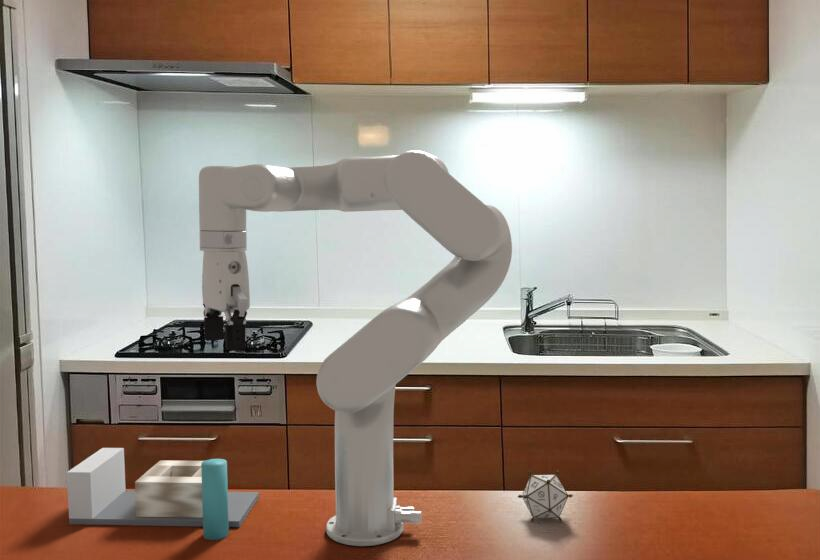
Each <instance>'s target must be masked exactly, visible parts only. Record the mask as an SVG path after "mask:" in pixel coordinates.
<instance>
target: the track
mask: <svg viewBox="0 0 820 560" xmlns="http://www.w3.org/2000/svg"><path fill="white" fill-rule="evenodd" d="M125 471H126V468H125V448H124V447H102V448H100V449H98V451H95V452H94V453H93V454H91V455H90V456H88V457H86V459H84V460H82V461H81V462H80V463H78V464H77V465H75V466H74V467H72V468H70V470H68V471H66V481H67V483H66V484H67V500H68V505H67V506H68V523H69V525H92V526H93V525H94V526H97V525H98V526H101V525H103V526H148V527H149V526H151V527H152V526H155V527H158V526H159V527H203V518H195V517H136V497H135V489H134V490H132V489H127V490H126V472H125ZM259 498H260V492H259V491H228V521H229V528H240V527H241V525H242V524H243V523H244V522H245V520H246V518H247V517H248V515H249V514H248V513H250V512H251V511H252V509H253V508H254V506H255V505H256V503H257V501H258V500H259ZM257 499H258V500H257ZM254 504H255V505H254ZM252 507H253V508H252ZM250 510H251V511H250ZM246 516H247V517H246ZM244 519H245V520H244Z"/></svg>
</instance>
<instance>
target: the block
mask: <svg viewBox="0 0 820 560" xmlns="http://www.w3.org/2000/svg"><path fill="white" fill-rule="evenodd" d="M203 461H204V460H165V459H163V460H161V459H160V460H159V461H158V462H156V463H155V464H154V465H153V466H151V467H150V468H149V469H148V470H147V471H145V473H144V474H142V475H140V477H139V478H138V479H136V480H135V481H134V490H135V497H136V517H195V518H203V505H202V472H201V463H202V462H203Z"/></svg>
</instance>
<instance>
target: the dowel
mask: <svg viewBox="0 0 820 560" xmlns="http://www.w3.org/2000/svg"><path fill="white" fill-rule="evenodd" d="M202 461H203V462H202V463H201V472H202V505H203V526H202V533H203V534H202V535H203V538H204V539H206V540H208V541H209V540H210V541H218V540H222V539H225V538H227V537H228V536H230V535H229V534H230V533H229V532H230V531H229V529H230V527H229V521H228V492H229V490H228V484H229V483H228V461H227V460H226V459H223V458H210V459H206V460H202Z"/></svg>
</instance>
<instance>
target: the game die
mask: <svg viewBox="0 0 820 560" xmlns="http://www.w3.org/2000/svg"><path fill="white" fill-rule="evenodd" d="M559 473H560V471H559V470H556V471H555V473H554V474H553V473H552V474H550V473H549V474H532V471H529V470H527V474H528V475H529V478H528V480H527V482H526V485H525V487H524V489H523V492H522V494H518V495H517V498H519V499H522V500H523V501H524V504H525V506H526V508H527V510H528V512H529V513H530V515H531V518H530V523H534V521H535V519H558V522H560V523H562V522H563V518H562V517H561V514H562V512H563V510H564V508H565V505H566V503H567V500H568V498H573V496H574V495H573V494H568V493H567V490H566V489H565V487H564V485H563V484H562V482H561V480H560V479H559V477H558V475H559Z"/></svg>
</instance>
